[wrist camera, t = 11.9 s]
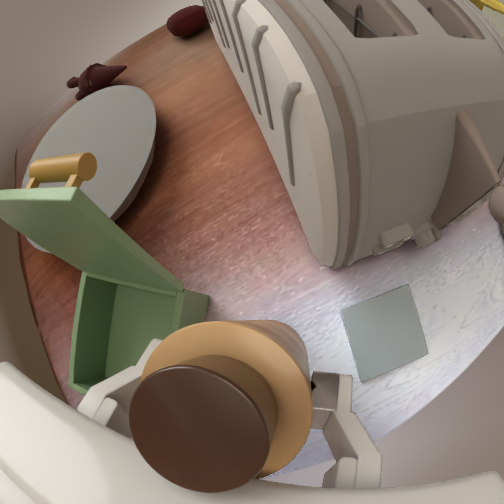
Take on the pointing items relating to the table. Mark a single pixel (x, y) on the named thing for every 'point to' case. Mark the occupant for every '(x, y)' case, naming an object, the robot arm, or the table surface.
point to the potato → (187, 21)
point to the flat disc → (105, 145)
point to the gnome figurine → (94, 79)
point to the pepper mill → (223, 404)
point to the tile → (384, 332)
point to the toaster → (372, 113)
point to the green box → (123, 325)
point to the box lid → (78, 224)
